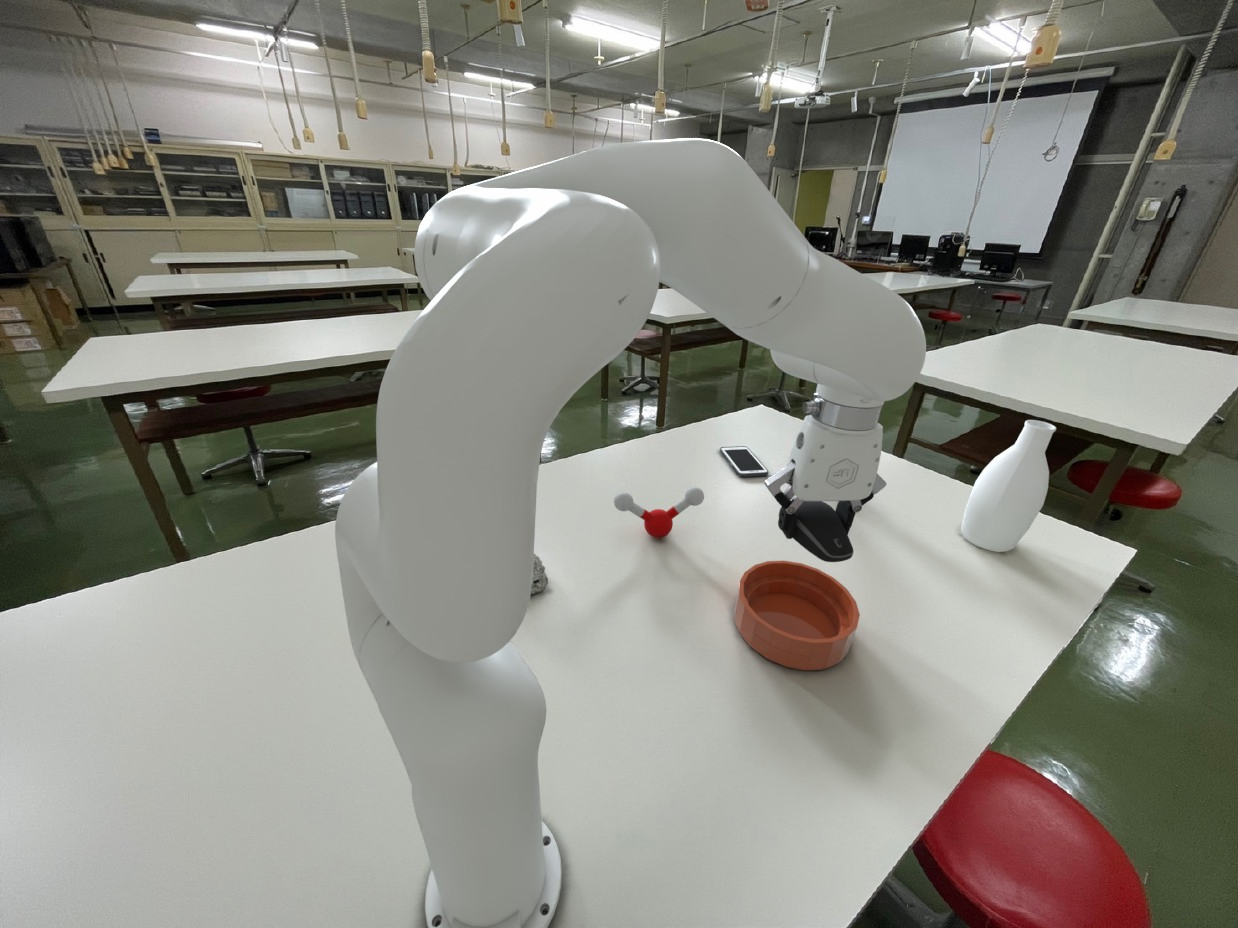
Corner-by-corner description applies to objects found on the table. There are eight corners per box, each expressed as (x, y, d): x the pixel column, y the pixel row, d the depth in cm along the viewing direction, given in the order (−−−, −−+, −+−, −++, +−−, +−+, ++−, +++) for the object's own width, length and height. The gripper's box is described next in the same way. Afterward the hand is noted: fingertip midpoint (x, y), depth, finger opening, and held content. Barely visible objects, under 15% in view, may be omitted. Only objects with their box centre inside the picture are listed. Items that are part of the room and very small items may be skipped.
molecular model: (691, 520, 103) (696, 478, 99) (703, 536, 98) (710, 493, 94) (610, 532, 99) (612, 489, 94) (618, 550, 94) (620, 505, 89)
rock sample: (527, 595, 77) (509, 543, 79) (494, 612, 80) (477, 561, 82) (567, 584, 86) (549, 537, 88) (535, 599, 89) (519, 553, 91)
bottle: (965, 550, 98) (1020, 432, 85) (946, 519, 107) (993, 409, 95) (1029, 561, 95) (1094, 441, 83) (1004, 528, 105) (1060, 416, 93)
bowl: (871, 668, 72) (883, 639, 69) (755, 676, 70) (762, 646, 67) (817, 585, 87) (825, 558, 84) (720, 589, 85) (725, 562, 82)
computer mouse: (817, 567, 62) (825, 541, 60) (767, 513, 73) (772, 490, 71) (864, 559, 64) (873, 534, 62) (809, 507, 74) (814, 484, 73)
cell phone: (745, 449, 134) (746, 445, 133) (769, 476, 121) (770, 472, 120) (718, 450, 132) (719, 447, 132) (739, 477, 120) (739, 474, 119)
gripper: (788, 424, 56) (760, 551, 64) (932, 423, 57) (887, 547, 66) (764, 399, 62) (742, 518, 71) (894, 399, 64) (858, 515, 72)
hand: (812, 531), depth 68 cm, fingers closed on computer mouse, 7 cm apart
